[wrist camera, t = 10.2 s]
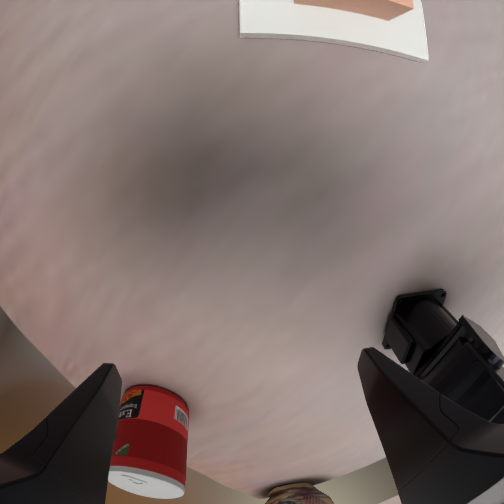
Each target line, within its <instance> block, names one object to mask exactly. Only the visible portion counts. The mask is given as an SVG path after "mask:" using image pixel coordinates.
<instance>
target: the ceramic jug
mask: <svg viewBox="0 0 504 504" xmlns="http://www.w3.org/2000/svg"><path fill="white" fill-rule="evenodd" d="M268 494H269V496H270V498H269V499H268V501H267V502H266V503H265V504H334V503H333V501H332V499H331V498H330V497H329V496H327V495H326V494H324V493H322V492H321V491H319V490H317V489H316V488H315V487H314V486H313V485H312V484H311V483H295V484H289V485H284V486H280V487H276V488H274V489H273V490H272V491H270V492H269V493H268Z"/></svg>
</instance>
